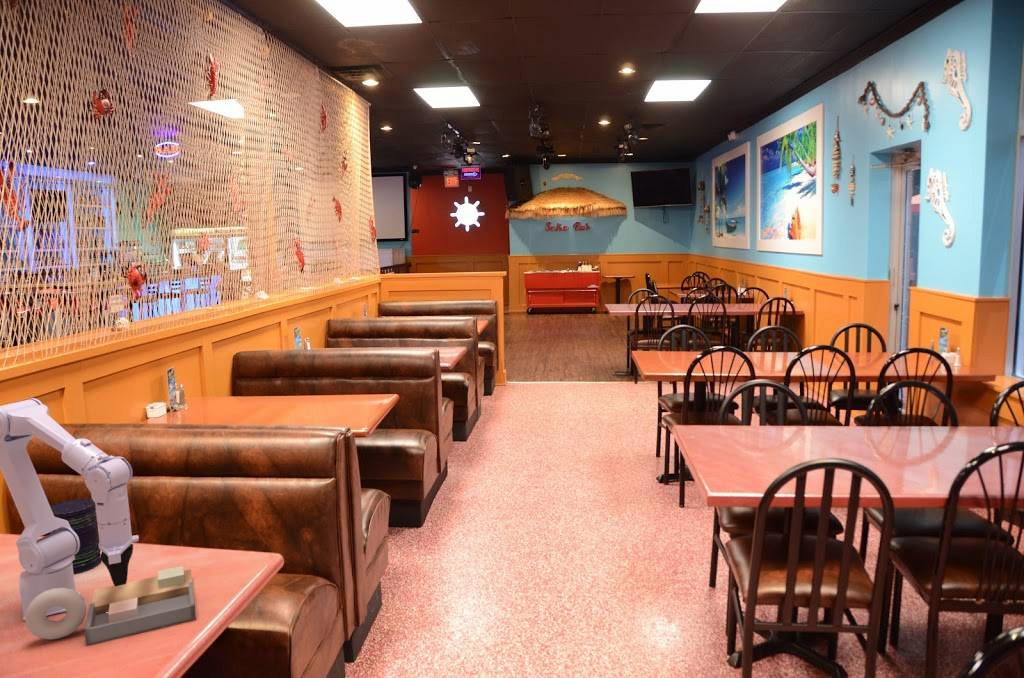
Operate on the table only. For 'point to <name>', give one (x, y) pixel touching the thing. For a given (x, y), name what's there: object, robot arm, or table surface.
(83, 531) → the storage jar
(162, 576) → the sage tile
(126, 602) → the cream tile
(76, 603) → the donut
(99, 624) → the box
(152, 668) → the table surface
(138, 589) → the oak board
